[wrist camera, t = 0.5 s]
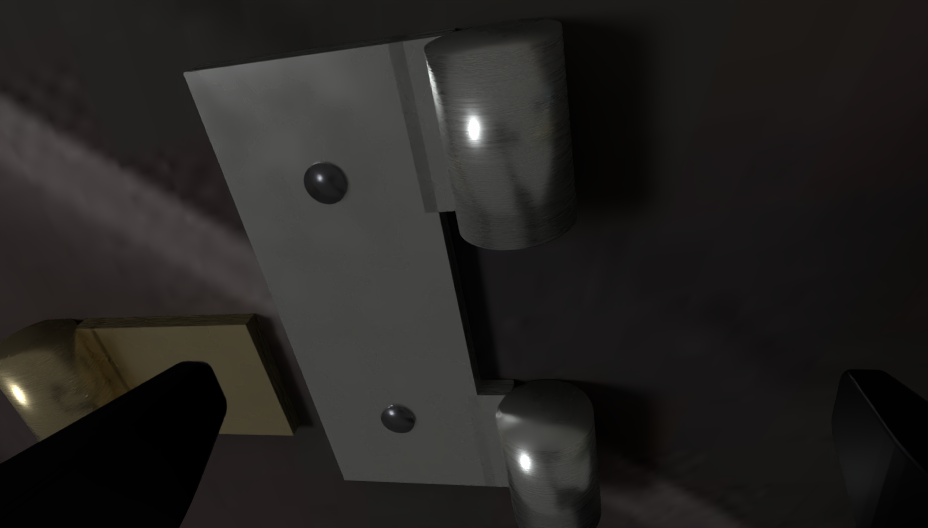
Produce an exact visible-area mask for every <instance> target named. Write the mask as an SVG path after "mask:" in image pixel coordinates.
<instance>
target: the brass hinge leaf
mask: <svg viewBox="0 0 928 528" xmlns="http://www.w3.org/2000/svg"><path fill="white" fill-rule="evenodd" d="M183 361H204V362H207V363H208V364H209V365H210V366H211V367H212V369H213V371H214V373H215V375H216V377H217V379H218V382H219V384H220V386H221V388H222V390H223V393H224V395H225V397H226V400H227V412H226V416H225V419H224V421H223V424H222V426H221V429H220V431H219V434H252V435H294V434H295V432H296V430H297V428H298V426H299V425H300V421H299V418H298V416H297V413H296V411H295V409H294V406H293V404H292V402H291V399H290V397H289V394H288V392H287V390H286V387H285V385H284V383H283V380H282V378H281V375H280V373H279V371H278V368H277V366H276V364H275V361H274V359H273V356H272V354H271V352H270V349H269V347H268V345H267V342H266V340H265V337H264V335H263V333H262V330H261V328H260V326H259V323H258V321H257V318H256V316H255V314H254V313H249V314H216V315H183V316H150V317H117V318H86V319H85V320H84V321H82V322H81V323H80V324H79V325H77V323H76V322H75V321H74V320H73V319H51V320H45V321H41V322H38V323H35V324H33V325H30V326H28V327H25V328H23V329H21V330H19V331H17V332H15V333H14V334H12V335H10V336H8V337H7V338H5V339H4V340H2V341H1V342H0V389H1V390H2V391H3V393H4V394H5V396H6V397H7V398H8V400H9V401H10V402H11V404H12V405H13V406H14V408H15V409H16V410H17V412H18V413H19V414H20V416H21V417H22V419H23V420H24V421H25V423H26V424H27V425H28V427H29V428H30V429H31V431H32V432H33V433H34V435H35V436H36V437H37V439H38V440H39V442H40V441H42V440H43V439H45V438H47V437H49V436H50V435H52V434H54V433H56V432H57V431H59V430H61V429H63V428H65V427H66V426H68V425H70V424H72V423H73V422H75V421H77V420H79V419H80V418H82V417H84V416H86V415H87V414H89V413H91V412H93V411H94V410H96V409H98V408H100V407H102V406H103V405H105V404H107V403H109V402H110V401H112V400H114V399H116V398H117V397H119V396H121V395H123V394H124V393H126V392H128V391H130V390H131V389H133V388H135V387H137V386H139V385H140V384H142V383H144V382H146V381H147V380H149V379H151V378H153V377H154V376H156V375H158V374H160V373H161V372H163V371H165V370H167V369H168V368H170V367H172V366H174V365H176V364H177V363H179V362H183Z"/></svg>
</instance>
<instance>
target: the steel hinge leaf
mask: <svg viewBox="0 0 928 528" xmlns="http://www.w3.org/2000/svg"><path fill="white" fill-rule="evenodd" d="M184 76H185V78H186V81H187V83H188V86H189V88H190V91H191V93H192V96H193V98H194V101H195V103H196V106H197V109H198V111H199V114H200V116H201V119H202V121H203V124H204V126H205V129H206V131H207V134H208V136H209V139H210V141H211V144H212V146H213V149H214V151H215V154H216V156H217V159H218V162H219V164H220V167H221V169H222V172H223V174H224V177H225V179H226V182H227V184H228V187H229V189H230V192H231V194H232V197H233V199H234V202H235V204H236V207H237V209H238V212H239V215H240V217H241V220H242V222H243V225H244V227H245V230H246V232H247V235H248V237H249V240H250V242H251V245H252V247H253V250H254V252H255V255H256V257H257V260H258V262H259V265H260V268H261V270H262V273H263V275H264V278H265V280H266V283H267V285H268V288H269V290H270V293H271V295H272V298H273V300H274V303H275V305H276V308H277V310H278V313H279V315H280V318H281V321H282V323H283V326H284V328H285V331H286V333H287V336H288V338H289V341H290V343H291V346H292V348H293V351H294V353H295V356H296V358H297V361H298V363H299V366H300V368H301V371H302V374H303V376H304V379H305V381H306V384H307V386H308V389H309V391H310V394H311V396H312V399H313V401H314V404H315V406H316V409H317V411H318V414H319V416H320V419H321V421H322V424H323V427H324V429H325V432H326V434H327V437H328V439H329V442H330V444H331V447H332V449H333V452H334V454H335V457H336V459H337V462H338V464H339V467H340V469H341V472H342V474H343V477H344V480H357V481H380V482H404V483H428V484H452V485H475V486H499V487H509V489H510V494H511V499H512V504H513V509H514V515H515V519H516V521H517V524H518V526H519V527H520V528H596V527H597V525H598V523H599V521H600V518H601V511H602V508H601V496H600V483H599V471H598V459H597V447H596V435H595V423H594V410H593V406H592V403H591V401H590V399H589V398H588V396H587V395H586V394H585V393H584V392H583V391H582V390H581V389H579V388H578V387H576V386H574V385H572V384H569V383H567V382H563V381H558V380H536V381H532V382H528V383H525V384H523V385H520V386H518V387H516V388H515V385H514V380H481V378H480V373H479V369H478V364H477V359H476V354H475V349H474V344H473V339H472V334H471V329H470V324H469V319H468V314H467V309H466V305H465V300H464V295H463V290H462V285H461V280H460V275H459V270H458V265H457V260H456V255H455V250H454V245H453V241H452V236H451V231H450V226H449V221H448V216H447V211H455V212H456V217H457V222H458V227H459V232H460V235H461V236H462V238H463V239H464V240H466V241H467V242H469V243H470V244H473V245H475V246H478V247H481V248H486V249H493V250H516V249H524V248H529V247H534V246H538V245H541V244H544V243H547V242H550V241H552V240H554V239H556V238H558V237H560V236H562V235H563V234H565V233H566V232H567V231H569V230H570V229H571V228H572V227H573V225H574V224H575V222H576V220H577V204H576V191H575V179H574V167H573V155H572V143H571V131H570V118H569V106H568V94H567V82H566V70H565V58H564V45H563V33H562V24H561V23H560V22H559V21H556V20H551V19H519V20H509V21H501V22H495V23H489V24H484V25H479V26H474V27H470V28H466V29H462V30H458V31H455V28H453V29H446V30H439V31H432V32H425V33H418V34H411V35H404V36H397V37H391V38H384V39H377V40H370V41H363V42H356V43H349V44H342V45H335V46H328V47H321V48H314V49H308V50H301V51H294V52H287V53H280V54H273V55H266V56H259V57H252V58H245V59H238V60H231V61H224V62H218V63H211V64H204V65H198V66H196V67H194V68H192V69H190V70H188V71H186V72H184Z"/></svg>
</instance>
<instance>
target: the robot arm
mask: <svg viewBox="0 0 928 528" xmlns="http://www.w3.org/2000/svg"><path fill="white" fill-rule="evenodd" d="M226 412H227V400H226V397H225V395H224V393H223V390H222V388H221V386H220V384H219V382H218V379H217V377H216V375H215V373H214V371H213V369H212V367H211V366H210V365H209V364H208V363H207V362H204V361H183V362H179V363H177V364H176V365H174V366H172V367H170V368H168V369H167V370H165V371H163V372H161V373H160V374H158V375H156V376H154V377H153V378H151V379H149V380H147V381H146V382H144V383H142V384H140V385H139V386H137V387H135V388H133V389H131V390H130V391H128V392H126V393H124V394H123V395H121V396H119V397H117V398H116V399H114V400H112V401H110V402H109V403H107V404H105V405H103V406H102V407H100V408H98V409H96V410H94V411H93V412H91V413H89V414H87V415H86V416H84V417H82V418H80V419H79V420H77V421H75V422H73V423H72V424H70V425H68V426H66V427H65V428H63V429H61V430H59V431H57V432H56V433H54V434H52V435H50V436H49V437H47V438H45V439H43V440H42V441H40V442H38V443H36V444H35V445H33V446H31V447H29V448H28V449H26V450H24V451H22V452H20V453H19V454H17V455H15V456H13V457H12V458H10V459H8V460H6V461H5V462H3V463H1V464H0V528H179V527H180V525H181V523H182V521H183V519H184V517H185V515H186V513H187V511H188V509H189V507H190V504H191V502H192V500H193V497H194V495H195V493H196V490H197V488H198V485H199V483H200V480H201V478H202V475H203V473H204V470H205V467H206V465H207V462H208V460H209V457H210V455H211V452H212V449H213V447H214V444H215V442H216V439H217V437H218V434H219V431H220V429H221V426H222V424H223V421H224V419H225V416H226ZM832 434H833V438H834V442H835V446H836V450H837V454H838V458H839V462H840V466H841V470H842V474H843V477H844V481H845V485H846V489H847V493H848V497H849V501H850V505H851V509H852V513H853V516H854V520H855V524H856V528H928V401H926V400H925V399H924V398H922V397H921V396H919V395H918V394H916V393H915V392H914V391H912V390H911V389H909V388H908V387H906V386H905V385H903V384H902V383H901V382H899V381H898V380H896V379H895V378H893V377H892V376H891V375H889V374H888V373H886V372H884V371H881V370H860V369H850V370H847V371H845V372H844V373H843V374H842V376H841V379H840V382H839V387H838V392H837V396H836V401H835V405H834V410H833V414H832Z"/></svg>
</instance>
